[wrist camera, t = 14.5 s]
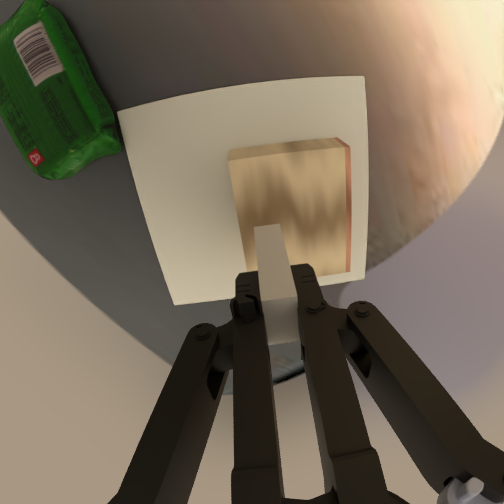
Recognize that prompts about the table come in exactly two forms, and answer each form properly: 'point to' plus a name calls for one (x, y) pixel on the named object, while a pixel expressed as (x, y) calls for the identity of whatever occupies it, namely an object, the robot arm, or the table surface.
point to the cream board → (218, 175)
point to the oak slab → (297, 200)
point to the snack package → (51, 94)
